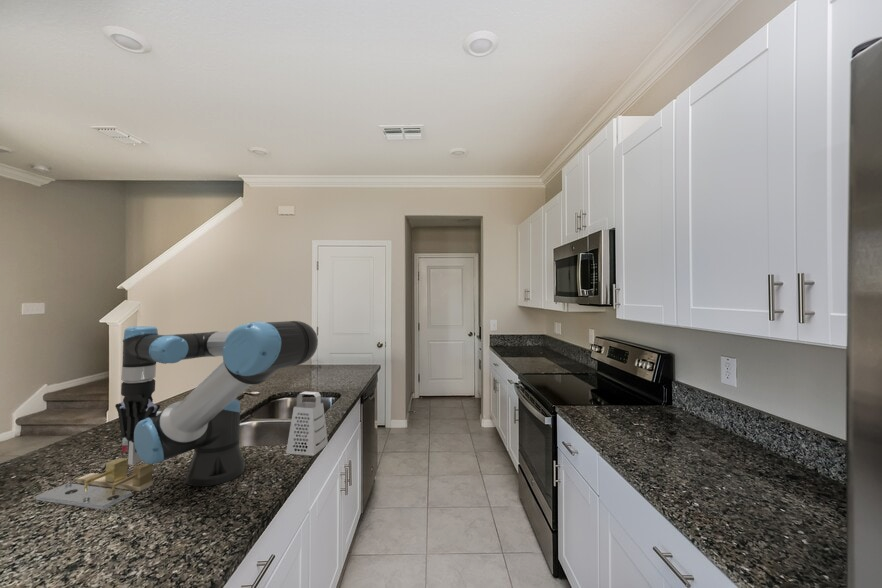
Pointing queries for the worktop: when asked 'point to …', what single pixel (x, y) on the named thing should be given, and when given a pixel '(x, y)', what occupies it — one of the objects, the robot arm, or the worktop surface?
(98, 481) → the rail
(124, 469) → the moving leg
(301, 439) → the grater
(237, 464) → the robot arm
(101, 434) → the worktop surface
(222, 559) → the worktop surface
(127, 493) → the bolt plate
